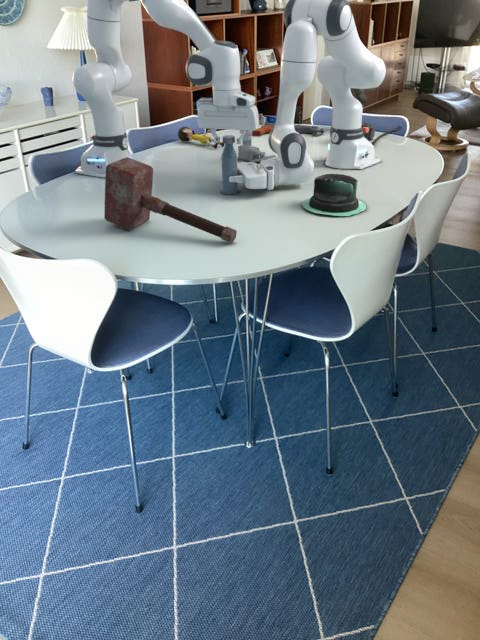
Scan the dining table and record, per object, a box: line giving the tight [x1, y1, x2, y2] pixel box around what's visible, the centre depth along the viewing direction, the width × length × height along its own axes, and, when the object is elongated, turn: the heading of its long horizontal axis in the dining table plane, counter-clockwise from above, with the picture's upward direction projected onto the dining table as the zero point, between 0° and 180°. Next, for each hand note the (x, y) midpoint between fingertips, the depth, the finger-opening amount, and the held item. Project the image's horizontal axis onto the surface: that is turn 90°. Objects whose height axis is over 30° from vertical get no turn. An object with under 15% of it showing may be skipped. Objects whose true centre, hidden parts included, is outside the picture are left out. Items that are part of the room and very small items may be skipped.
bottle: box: [220, 143, 239, 195], centre depth 186 cm, size 5×5×18 cm
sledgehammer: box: [103, 157, 238, 244], centre depth 155 cm, size 17×10×40 cm
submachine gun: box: [252, 122, 325, 137], centre depth 263 cm, size 32×3×25 cm
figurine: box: [177, 126, 225, 150], centre depth 251 cm, size 13×8×25 cm
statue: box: [350, 88, 368, 108], centre depth 262 cm, size 11×9×30 cm
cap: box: [222, 134, 236, 145], centre depth 182 cm, size 4×4×2 cm
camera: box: [237, 130, 277, 163], centre depth 222 cm, size 9×12×15 cm
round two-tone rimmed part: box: [301, 173, 367, 217], centre depth 174 cm, size 15×19×20 cm
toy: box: [361, 122, 376, 142], centre depth 244 cm, size 9×9×15 cm
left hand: (228, 143), depth 182 cm, fingers open, 6 cm apart
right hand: (227, 176), depth 187 cm, fingers closed on bottle, 5 cm apart
